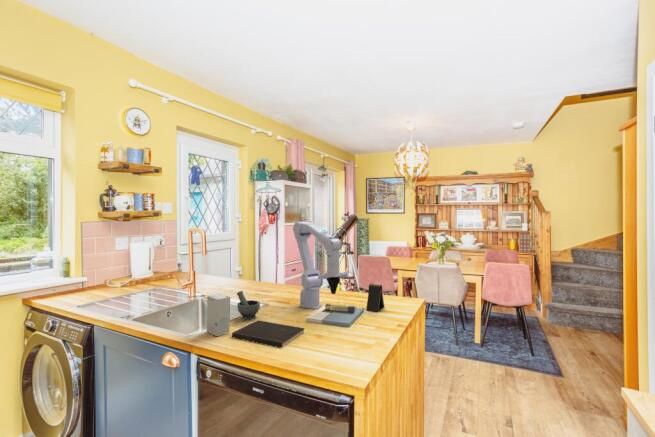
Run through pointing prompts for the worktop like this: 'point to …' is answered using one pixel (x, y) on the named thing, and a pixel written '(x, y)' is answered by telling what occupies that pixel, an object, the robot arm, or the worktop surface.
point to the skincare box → (218, 314)
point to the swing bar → (340, 308)
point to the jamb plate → (319, 315)
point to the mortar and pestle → (247, 307)
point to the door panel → (343, 317)
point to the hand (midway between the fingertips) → (333, 293)
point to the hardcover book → (268, 333)
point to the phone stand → (375, 298)
